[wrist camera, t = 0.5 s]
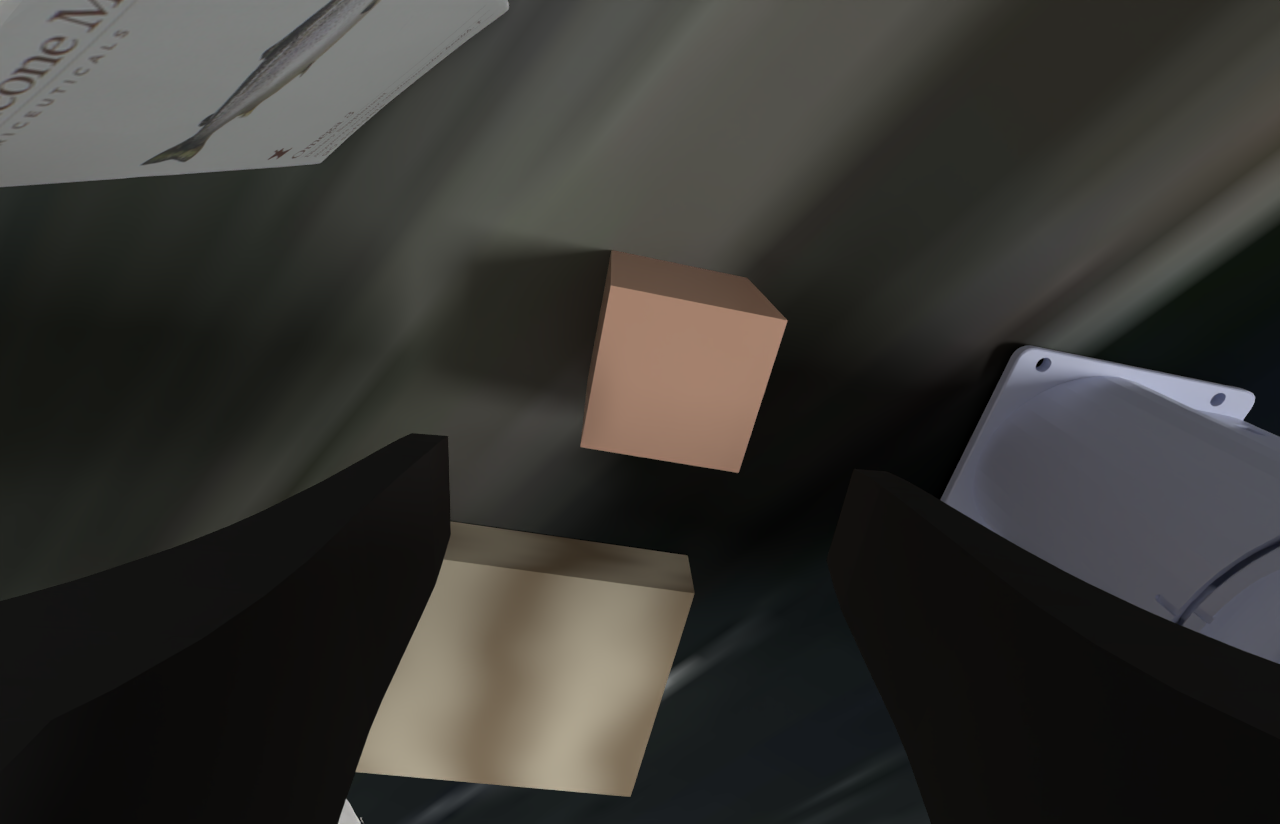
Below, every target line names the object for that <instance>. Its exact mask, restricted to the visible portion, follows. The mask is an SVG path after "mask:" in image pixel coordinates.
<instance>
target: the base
mask: <svg viewBox="0 0 1280 824" xmlns="http://www.w3.org/2000/svg"><path fill="white" fill-rule="evenodd" d="M450 525H451V536H450V539H449V542H448V546H447V549H446V553H445V556H444V559H443V563H442V566H441V569H440V572H439V575H438V579H437V582H436V585H435V587H434V589H433V591H432V594H431V596H430V598H429V600H428V603H427V605H426V607H425V609H424V611H423V614H422V616H421V618H420V620H419V622H418V625H417V627H416V629H415V631H414V633H413V635H412V637H411V640H410V642H409V644H408V646H407V648H406V650H405V653H404V655H403V657H402V659H401V661H400V663H399V665H398V668H397V670H396V672H395V674H394V676H393V678H392V681H391V683H390V685H389V687H388V689H387V691H386V694H385V696H384V698H383V700H382V702H381V705H380V707H379V709H378V712H377V714H376V717H375V719H374V722H373V724H372V726H371V729H370V731H369V734H368V737H367V740H366V743H365V746H364V749H363V751H362V754H361V757H360V760H359V763H358V766H357V769H356V772H362V773H373V774H384V775H395V776H406V777H417V778H428V779H439V780H451V781H462V782H473V783H484V784H495V785H506V786H517V787H528V788H539V789H550V790H561V791H572V792H583V793H594V794H606V795H617V796H628V797H630V796H631V793H632V790H633V787H634V784H635V781H636V777H637V774H638V771H639V768H640V765H641V762H642V758H643V755H644V752H645V749H646V746H647V743H648V739H649V736H650V733H651V730H652V727H653V724H654V720H655V717H656V714H657V711H658V708H659V704H660V701H661V698H662V695H663V692H664V689H665V685H666V682H667V679H668V676H669V673H670V670H671V666H672V663H673V660H674V657H675V654H676V651H677V647H678V644H679V641H680V638H681V635H682V632H683V628H684V625H685V622H686V619H687V616H688V613H689V609H690V606H691V603H692V600H693V597H694V594H695V593H694V588H693V582H692V576H691V571H690V565H689V560H688V555H681V554H674V553H667V552H660V551H654V550H647V549H640V548H633V547H626V546H619V545H612V544H605V543H598V542H591V541H584V540H577V539H570V538H563V537H556V536H549V535H542V534H535V533H528V532H521V531H514V530H507V529H500V528H493V527H486V526H479V525H472V524H465V523H458V522H451V521H450Z"/></svg>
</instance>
